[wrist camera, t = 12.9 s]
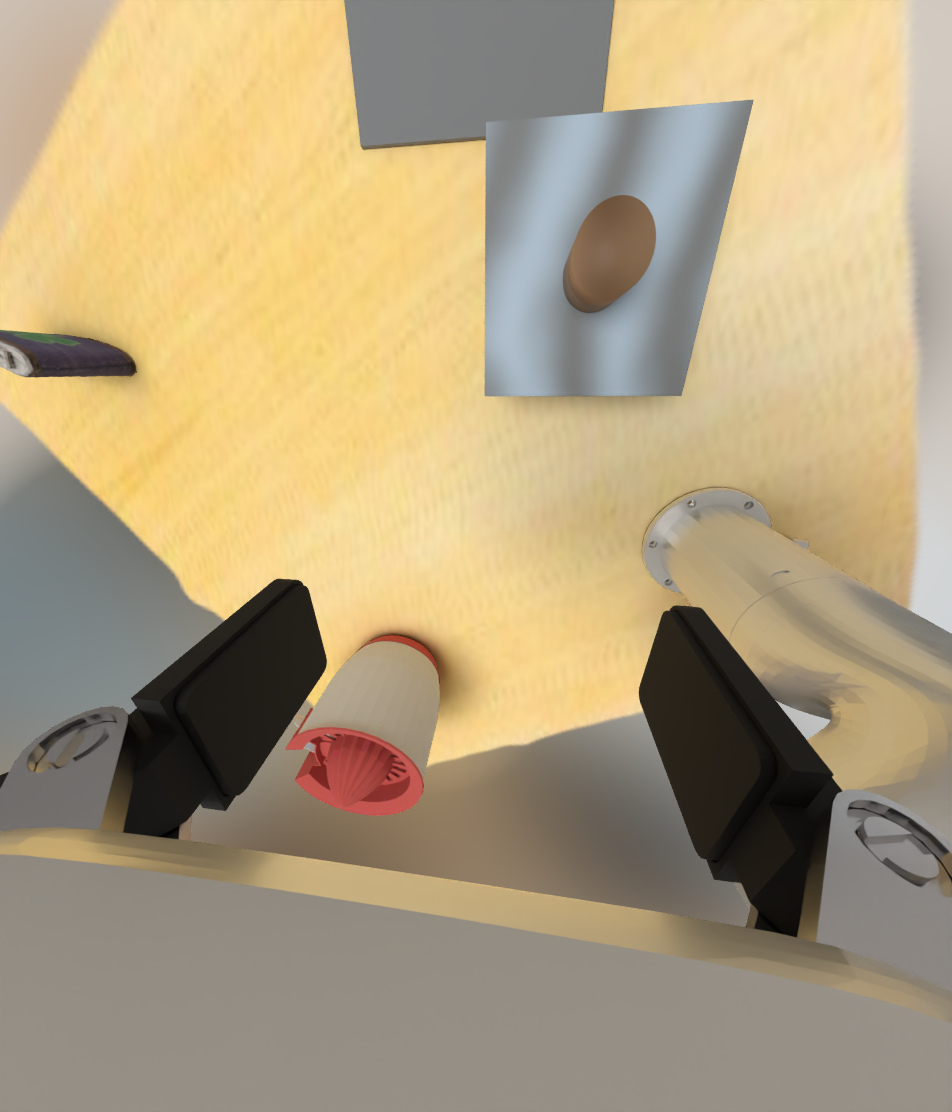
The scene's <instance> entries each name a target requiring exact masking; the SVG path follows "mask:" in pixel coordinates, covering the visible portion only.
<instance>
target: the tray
mask: <svg viewBox="0 0 952 1112" xmlns="http://www.w3.org/2000/svg"><path fill="white" fill-rule="evenodd" d="M344 1H345V10H346V19H347V28H348V36H349V45H350V54H351V63H352V72H353V81H354V90H355V98H356V107H357V116H358V125H359V134H360V143H361V147H362V149H373V148H385V147H397V146H410V145H422V144H435V143H447V142H459V141H472V140H484V139H486V122H495V121H507V120H519V119H531V118H542V117H554V116H566V115H578V114H590V113H602V107H603V98H604V89H605V80H606V71H607V61H608V52H609V43H610V34H611V24H612V15H613V6H614V0H344Z"/></svg>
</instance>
